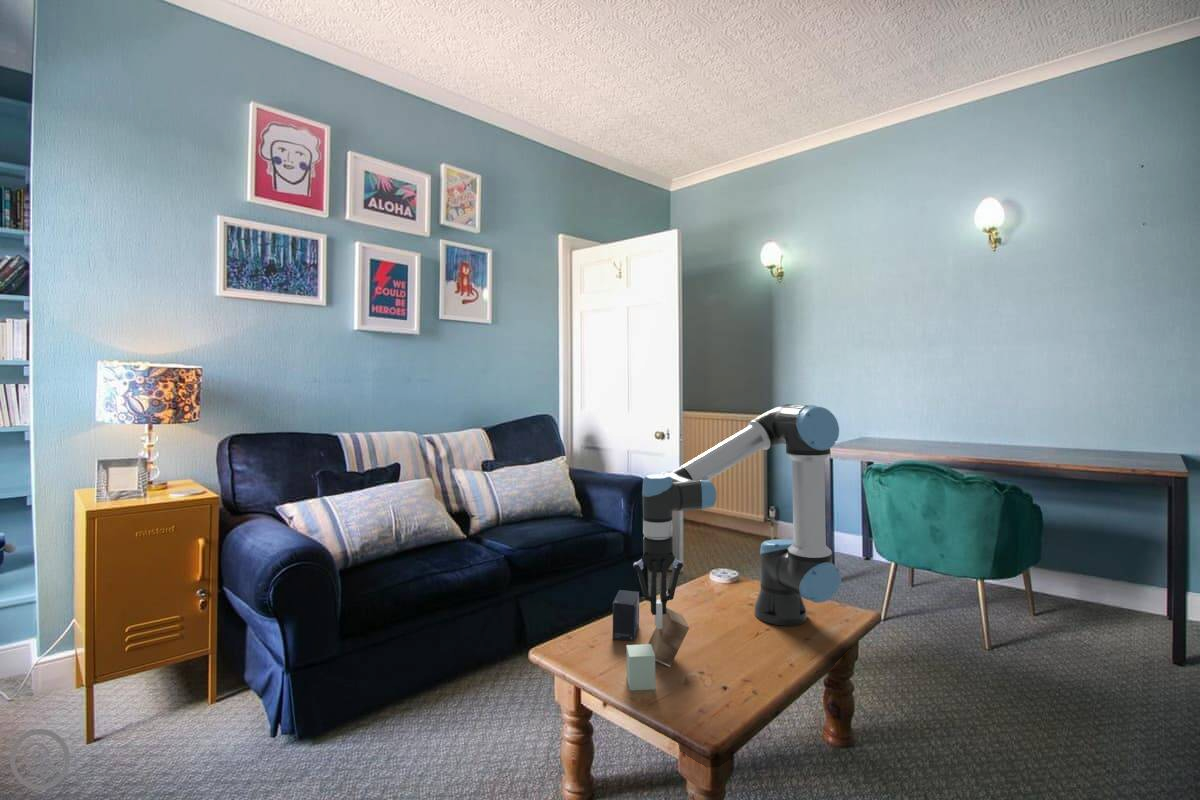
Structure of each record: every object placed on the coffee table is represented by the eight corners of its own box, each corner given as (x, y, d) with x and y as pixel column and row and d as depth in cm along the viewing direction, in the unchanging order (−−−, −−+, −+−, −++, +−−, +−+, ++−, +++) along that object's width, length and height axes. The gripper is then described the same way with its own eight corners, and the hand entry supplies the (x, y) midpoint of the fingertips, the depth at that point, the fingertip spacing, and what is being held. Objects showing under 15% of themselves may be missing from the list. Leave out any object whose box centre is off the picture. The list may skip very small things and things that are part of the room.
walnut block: (664, 652, 154) (682, 615, 154) (670, 667, 146) (689, 627, 146) (647, 644, 154) (665, 607, 154) (652, 659, 146) (671, 619, 146)
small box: (635, 641, 161) (634, 604, 160) (611, 639, 162) (611, 602, 162) (640, 625, 171) (639, 590, 171) (618, 624, 173) (618, 589, 172)
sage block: (651, 676, 142) (650, 644, 142) (655, 689, 136) (655, 655, 136) (626, 677, 142) (626, 645, 141) (629, 690, 136) (629, 656, 135)
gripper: (679, 531, 153) (680, 619, 154) (630, 532, 152) (631, 621, 153) (686, 538, 146) (686, 631, 147) (634, 540, 145) (635, 633, 146)
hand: (658, 626), depth 150 cm, fingers closed
